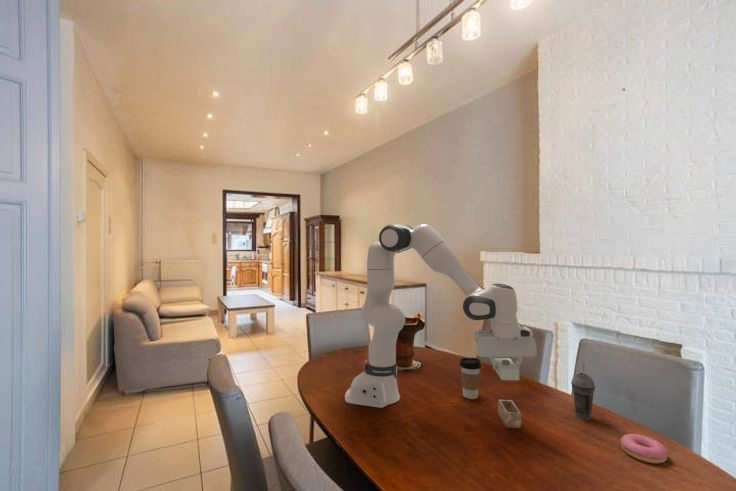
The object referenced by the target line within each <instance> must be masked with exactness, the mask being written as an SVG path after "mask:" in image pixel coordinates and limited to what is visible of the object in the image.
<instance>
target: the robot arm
mask: <svg viewBox="0 0 736 491" xmlns="http://www.w3.org/2000/svg"><path fill="white" fill-rule="evenodd" d="M410 249H413V250H414V251H416V253H417V254H418V255H419V256H420V258H421V259H422V260H423V261H424V263H425V264H426V265H427V266H428V267H429V268H430V269H431V270H433V271H434V272H436V273H440V274H443V275H445V276H447V277H449V278H450V279H451V280H452V281H453V282H454V283H455V284H456V285H457V287H459V289H460V290H461V291H462V292H463V294H464V295H465V297H466V298H465V299H464V301H463V302H462V310H463V313H464V314H465V315H466V316H467V317H468V318H469V319H471V320H474V321H485V320H490V329H486V330H483V329H479V330H477V331H476V332H475V333H474V336H473V337H474V341H475V348H474V349H475V355H477V357H479V358H488V359H489V360H490V363H491V365H492V370H495V369H498V364H497V363H494V358H516V359H517V360H516V362H513V363H514V364H515V365H516V366H517V368H518V369H519V370H520V365H521V364H522V362H523V358H535V357H536V356H537V354H538V353H537V352H538V351H537V344H536V341H535V338H534V337H533V336H534V332H533V331H532V329H531V328H529V327H527V326H525V325H522V324H521V325H520V324H519V321H518V318H517V312H518V300H517V299H518V298H517V293H516V291H515V288H513V287H512V286H511V285H509V284H505V283H492V284H491V285H490V286H488V287H487V288H485V287H482V286H481V285H480V284H478V283H477V281H476V280H475V279H474V278H473V276H471V274H470V273H469V272H468V271H467V270H466V269H465V268H464V266H463V265H462V263H461V262H460V260H459V259H458V257H457V256H456V254H455V253H454V251H453V249H452V248H451V246H450V245H449V243H447V241H446V240H445V239H444V238H443V236H442V235H441V234H440V233H439V232H438V231H437V230H435V229H434V227H432V226H431V225H429V223H421V224H419V225H417V226H415V227H414V228H413V227H411V226H410V225H408V224H403V223H391V224H388V225H385V226H384V227H382V229H381V230H380V232H379V235H378V241H375V242H373V243H371V244H370V245H369V247H368V251H367V256H366V257H367V259H366V272H367V273H366V278H367V279H366V282H367V284H366V286H367V287H366V289H367V290H366V293H365V294H366V296H365V301H364V304H362V306H361V310H360V314H361V317H362V319H363V320H364V321H365V323H366V324H367V325H369V326H371V327H373V333H372V334H373V335H372V338H371V340H370V341H369V343H368V359H366V360H364V362H363V371H362V372H361V373H360V374H358V375H357V376H355V377H354V378H353V380H352V382H351V385H350V387H349V388H348V389H347V390H346V392H345V394H344V401H345V403H347V404H352V405H359V406H365V407H366V406H367V407H374V408H380V409H382V408H384V407H387V406H388V405H393V404H394V403H397V402H398V401H400V399H401V396H400V393H399V389H398V388H399V387H398V382H397V376H398V370H397V363H396V341H397V337H398V333H399V331H400V330H401V329H402V328H403V326H404V324H405V314H404V312H403V310H401V309H400V308H399V307H397V306H396V305H394V304H392V303H390V297H391V295H392V291H393V290H394V289H395V269H394V268H395V263H394V262H395V256H396V254H400V253H403V252H405V251H409V250H410Z"/></svg>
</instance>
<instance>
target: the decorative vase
mask: <svg viewBox="0 0 736 491" xmlns="http://www.w3.org/2000/svg"><path fill="white" fill-rule="evenodd" d="M404 316H405V315H404ZM425 326H426V321H425V320H424V317H423V314H422V313H421V312H418V313H417V314H416V316H408V315H407V316H405V324H404V326H403V328H402V329H401V330H400V331H399V333H398V337H397V341H396V363H397V371H402V370H406V371H409V370H416V369H420V367H421V364H422V363H421V362H419V361H417V360H415V359H414V357H415V354H416V353H415V348H414V346H415V337H416V334H418V332H420V331H422V330H424V328H425Z"/></svg>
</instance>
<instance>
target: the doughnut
mask: <svg viewBox="0 0 736 491" xmlns="http://www.w3.org/2000/svg"><path fill="white" fill-rule="evenodd" d="M619 441H620V444H621V448H622V449H623V451H624V452H626V454H627V455H629V456H631V457H632V458H634V459H636V460H638V461H641V462H645V463H648V464H662V463H664V462H666V461H667V460H668V456H669V453H668V450H667V448H666V447H665V446H664V445H663V444H662V443H660V441H658V440H656V439H654V438H652V437H650V436H646V435H642V434H638V433H628V434H624V435H622V436H621V439H620V440H619Z"/></svg>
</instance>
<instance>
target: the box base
mask: <svg viewBox="0 0 736 491" xmlns="http://www.w3.org/2000/svg"><path fill="white" fill-rule="evenodd" d="M497 406H498V408H497V413H498V415H499V418H500V419H501V421H502V423H503V425H504V426H505V428H508V429H509V428H510V429H521V428H522V412H521V411H520V409H519V408H518V407H517V405H516V404H515V402H514V401H513V399H497Z"/></svg>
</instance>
